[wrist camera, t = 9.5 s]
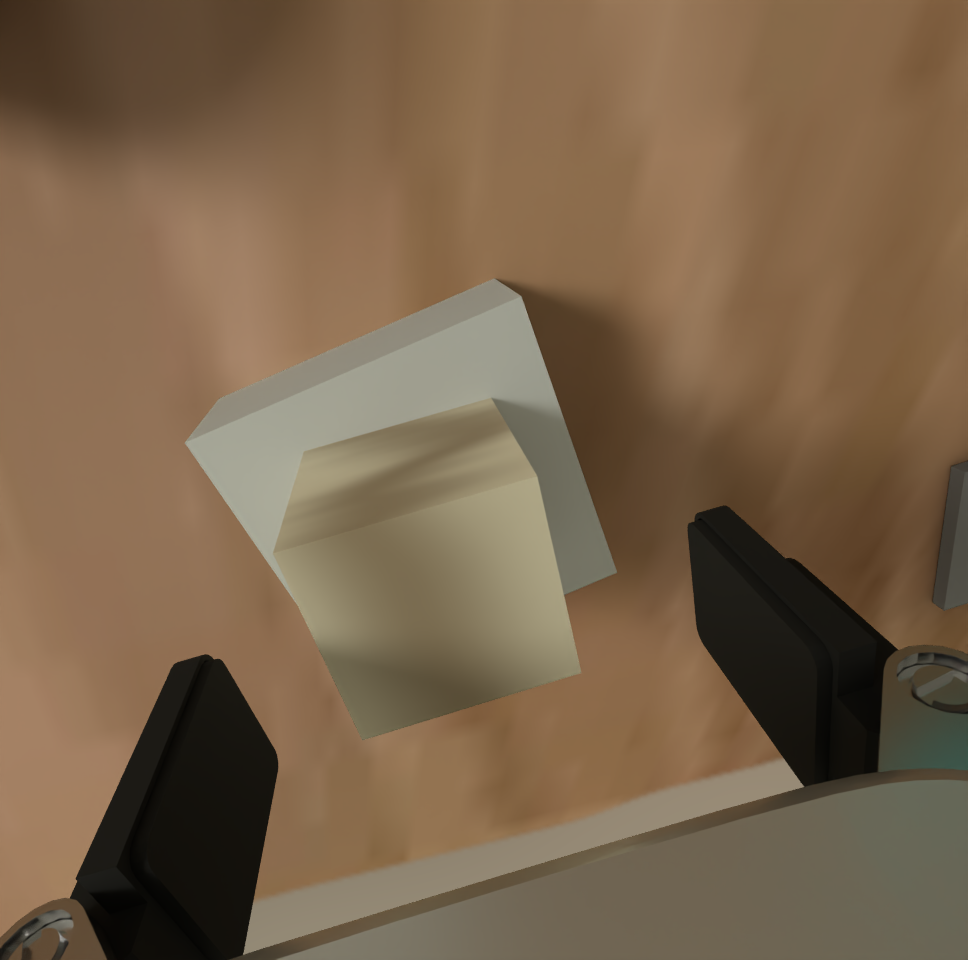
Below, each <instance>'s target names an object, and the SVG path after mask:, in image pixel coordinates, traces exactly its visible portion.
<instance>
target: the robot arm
mask: <svg viewBox="0 0 968 960" xmlns="http://www.w3.org/2000/svg"><path fill="white" fill-rule="evenodd" d="M688 539H689V550H690V561H691V571H692V582H693V593H694V604H695V614H696V625H697V630H698V634H699V636H700V639H701V641H702V643H703V644H704V646H705V647H706V649H707V650H708V652H709V653H710V655H711V656H712V657H713V659H714V660H715V662H716V663H717V664H718V666H719V667H720V669H721V670H722V672H723V673H724V674H725V676H726V677H727V679H728V680H729V681H730V683H731V684H732V686H733V687H734V688H735V690H736V691H737V693H738V694H739V696H740V697H741V698H742V700H743V701H744V703H745V704H746V705H747V707H748V708H749V710H750V711H751V712H752V714H753V715H754V717H755V718H756V720H757V721H758V722H759V724H760V725H761V727H762V728H763V729H764V731H765V732H766V734H767V735H768V737H769V738H770V739H771V741H772V742H773V744H774V745H775V746H776V748H777V749H778V751H779V752H780V753H781V755H782V756H783V758H784V759H785V761H786V762H787V763H788V765H789V766H790V768H791V769H792V770H793V772H794V773H795V775H796V776H797V777H798V779H799V780H800V782H801V783H802V784H803V785H804V787H803V788H799V789H796V790H792V791H788V792H785V793H781V794H778V795H774V796H770V797H767V798H763V799H759V800H756V801H752V802H749V803H745V804H741V805H738V806H734V807H731V808H727V809H723V810H720V811H716V812H713V813H710V814H706V815H703V816H700V817H696V818H693V819H689V820H686V821H683V822H679V823H676V824H672V825H669V826H666V827H663V828H659V829H656V830H652V831H649V832H645V833H642V834H639V835H635V836H632V837H628V838H625V839H622V840H618V841H615V842H612V843H608V844H605V845H601V846H598V847H595V848H591V849H588V850H585V851H581V852H578V853H574V854H571V855H568V856H564V857H561V858H558V859H555V860H551V861H548V862H545V863H541V864H538V865H535V866H531V867H528V868H525V869H521V870H518V871H515V872H512V873H508V874H505V875H501V876H498V877H495V878H492V879H488V880H485V881H482V882H478V883H475V884H472V885H468V886H465V887H462V888H459V889H455V890H452V891H449V892H445V893H442V894H439V895H436V896H432V897H429V898H425V899H422V900H419V901H416V902H412V903H409V904H406V905H403V906H399V907H396V908H393V909H390V910H386V911H383V912H380V913H377V914H373V915H370V916H367V917H364V918H360V919H358V920H354V921H351V922H348V923H344V924H341V925H338V926H334V927H332V928H328V929H325V930H321V931H318V932H315V933H312V934H308V935H305V936H302V937H299V938H295V939H292V940H289V941H286V942H283V943H280V944H276V945H273V946H270V947H266V948H263V949H260V950H257V951H254V952H251V953H248V954H245V955H243V952H244V947H245V941H246V937H247V931H248V926H249V920H250V915H251V910H252V905H253V900H254V894H255V889H256V884H257V878H258V873H259V868H260V863H261V857H262V852H263V847H264V841H265V836H266V831H267V825H268V820H269V815H270V810H271V804H272V799H273V794H274V788H275V783H276V778H277V773H278V758H277V754H276V751H275V749H274V747H273V746H272V744H271V742H270V740H269V739H268V737H267V735H266V734H265V732H264V730H263V729H262V727H261V725H260V723H259V722H258V720H257V718H256V717H255V715H254V713H253V712H252V710H251V708H250V706H249V705H248V703H247V701H246V700H245V698H244V696H243V695H242V693H241V691H240V689H239V688H238V686H237V684H236V683H235V681H234V679H233V678H232V676H231V674H230V672H229V671H228V669H227V667H226V666H225V664H224V663H223V661H222V660H220V659H215V660H214V659H213V658H212V657H211V656H210V655H206V654H205V655H201V656H198V657H194V658H191V659H187V660H184V661H180V662H177V663H176V664H174V665H173V667H172V668H171V670H170V673H169V675H168V677H167V679H166V681H165V684H164V686H163V688H162V690H161V692H160V695H159V697H158V699H157V701H156V703H155V705H154V708H153V710H152V712H151V714H150V716H149V719H148V721H147V723H146V725H145V727H144V730H143V732H142V734H141V736H140V738H139V741H138V743H137V745H136V747H135V749H134V752H133V754H132V756H131V758H130V760H129V763H128V765H127V767H126V769H125V771H124V774H123V776H122V778H121V780H120V782H119V785H118V787H117V789H116V791H115V793H114V796H113V798H112V800H111V802H110V804H109V806H108V809H107V811H106V813H105V815H104V817H103V820H102V822H101V824H100V826H99V828H98V831H97V833H96V835H95V837H94V839H93V842H92V844H91V846H90V848H89V850H88V853H87V855H86V857H85V859H84V861H83V864H82V866H81V868H80V870H79V872H78V875H77V877H76V880H77V883H76V886H75V888H74V890H73V892H72V895H71V897H70V899H69V898H62V899H58V900H53V901H50V902H48V903H46V904H44V905H42V906H40V907H38V908H36V909H34V910H32V911H31V912H30V913H28V914H27V915H25V916H24V917H23V918H21V919H20V920H19V921H17V922H16V923H15V924H14V925H13V926H12V927H11V928H10V929H9V930H8V931H7V932H6V933H5V934H4V935H2V936H1V937H0V960H968V654H966V653H964V652H962V651H958V650H955V649H951V648H947V647H943V646H933V645H917V646H908V647H906V648H903V649H901V650H898V649H897V648H896V647H894V646H893V645H892V644H891V643H890V642H889V641H888V640H887V639H885V638H884V637H883V636H882V635H881V634H880V633H879V632H877V631H876V630H875V629H874V628H873V627H872V626H871V625H870V624H868V623H867V622H866V621H865V620H864V619H863V618H862V617H861V616H859V615H858V614H857V613H856V612H855V611H854V610H853V609H852V608H850V607H849V606H848V605H847V604H846V603H845V602H844V601H842V600H841V599H840V598H839V597H838V596H837V595H836V594H835V593H833V592H832V591H831V590H830V589H829V588H828V587H827V586H826V585H824V584H823V583H822V582H821V581H820V580H819V579H818V578H817V577H815V576H814V575H813V574H812V573H811V572H810V571H809V570H807V569H806V568H805V567H804V566H803V565H802V564H801V563H799V562H798V561H796V560H795V559H792V558H786V559H785V558H784V557H783V556H782V555H781V554H780V553H779V552H778V551H777V550H775V549H774V548H773V547H772V546H771V545H770V544H769V543H768V542H767V541H765V540H764V539H763V538H762V537H761V536H760V535H759V534H758V533H757V532H756V531H754V530H753V529H752V528H751V527H750V526H749V525H748V524H747V523H746V522H745V521H743V520H742V519H741V518H740V517H739V516H738V515H737V514H736V513H735V512H734V511H732V510H731V509H730V508H729V507H727V506H720V507H717V508H713V509H710V510H706V511H703V512H700V513H697V514H696V515H695V522H692V523H689V524H688Z"/></svg>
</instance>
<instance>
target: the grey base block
mask: <svg viewBox="0 0 968 960" xmlns="http://www.w3.org/2000/svg"><path fill="white" fill-rule="evenodd" d="M489 398H492V400H493V402H494V404H495V405H496V407H497V409H498V410H499V412H500V414H501V415H502V417H503V419H504V420H505V422H506V424H507V426H508V427H509V429H510V431H511V432H512V434H513V436H514V437H515V439H516V441H517V443H518V444H519V446H520V448H521V449H522V451H523V453H524V454H525V456H526V458H527V460H528V461H529V463H530V465H531V466H532V468H533V470H534V471H535V473H536V475H537V477H538V482H539V486H540V491H541V495H542V499H543V504H544V508H545V513H546V517H547V522H548V526H549V531H550V535H551V540H552V544H553V549H554V553H555V558H556V562H557V567H558V571H559V575H560V580H561V584H562V589H563V593H564V595H565V594H568V593H570V592H572V591H575V590H577V589H579V588H582V587H584V586H587V585H589V584H591V583H594V582H596V581H598V580H601V579H603V578H605V577H608V576H610V575H612V574H615V573H617V571H616V568H615V565H614V562H613V559H612V556H611V553H610V551H609V548H608V545H607V542H606V539H605V536H604V533H603V530H602V527H601V525H600V522H599V519H598V516H597V513H596V510H595V507H594V504H593V502H592V499H591V496H590V493H589V490H588V487H587V484H586V481H585V478H584V476H583V473H582V470H581V467H580V464H579V461H578V458H577V455H576V452H575V450H574V447H573V444H572V441H571V438H570V435H569V432H568V429H567V427H566V424H565V421H564V418H563V415H562V412H561V409H560V406H559V403H558V401H557V398H556V395H555V392H554V389H553V386H552V383H551V380H550V377H549V375H548V372H547V369H546V366H545V363H544V360H543V357H542V354H541V352H540V349H539V346H538V343H537V340H536V337H535V334H534V331H533V328H532V326H531V323H530V320H529V317H528V314H527V311H526V308H525V305H524V303H523V300H522V297H521V296H520V295H519V294H517V293H516V292H514V291H513V290H511V289H510V288H508V287H507V286H505V285H504V284H502V283H501V282H499V281H498V280H496V279H495V278H494V279H492V280H490V281H487V282H485V283H483V284H480V285H478V286H476V287H474V288H471V289H469V290H467V291H464V292H462V293H460V294H458V295H455V296H453V297H451V298H448V299H446V300H444V301H441V302H439V303H437V304H435V305H432V306H430V307H428V308H425V309H423V310H421V311H419V312H416V313H414V314H412V315H409V316H407V317H405V318H403V319H400V320H398V321H396V322H393V323H391V324H389V325H386V326H384V327H382V328H380V329H377V330H375V331H373V332H370V333H368V334H366V335H364V336H361V337H359V338H357V339H354V340H352V341H350V342H348V343H345V344H343V345H341V346H338V347H336V348H334V349H331V350H329V351H327V352H325V353H322V354H320V355H318V356H315V357H313V358H311V359H309V360H306V361H304V362H302V363H299V364H297V365H295V366H293V367H290V368H288V369H286V370H283V371H281V372H279V373H276V374H274V375H272V376H270V377H267V378H265V379H263V380H260V381H258V382H256V383H254V384H251V385H249V386H247V387H244V388H242V389H240V390H238V391H235V392H233V393H231V394H228V395H226V396H224V397H221V398H219V400H218V401H217V402H216V403H215V405H214V406H213V407H212V408H211V410H210V411H209V412H208V414H207V415H206V416H205V417H204V419H203V420H202V421H201V423H200V424H199V425H198V426H197V428H196V429H195V430H194V431H193V433H192V434H191V435H190V437H189V438H188V439H187V440H186V442H185V444H186V445H187V447H188V448H189V449H190V451H191V452H192V454H193V455H194V457H195V458H196V460H197V461H198V462H199V464H200V465H201V467H202V468H203V470H204V471H205V472H206V474H207V475H208V477H209V478H210V480H211V481H212V483H213V484H214V485H215V487H216V488H217V490H218V491H219V493H220V494H221V496H222V497H223V498H224V500H225V501H226V503H227V504H228V506H229V507H230V509H231V510H232V511H233V513H234V514H235V516H236V517H237V519H238V520H239V522H240V523H241V524H242V526H243V527H244V529H245V530H246V532H247V533H248V534H249V536H250V537H251V539H252V540H253V542H254V543H255V545H256V546H257V547H258V549H259V550H260V552H261V553H262V555H263V556H264V558H265V559H266V560H267V562H268V563H269V565H270V566H271V568H272V569H273V571H274V572H275V573H276V575H277V576H278V578H279V579H280V581H281V582H282V584H283V585H284V586H285V588H286V589H287V591H288V592H289V594H290V595H291V596H292V598H293V599H294V597H293V594H292V592H291V590H290V588H289V586H288V584H287V582H286V580H285V578H284V576H283V574H282V572H281V569H280V567H279V565H278V563H277V561H276V559H275V557H274V555H273V551H274V548H275V545H276V541H277V538H278V535H279V532H280V528H281V525H282V522H283V518H284V515H285V512H286V509H287V505H288V502H289V499H290V495H291V492H292V489H293V485H294V482H295V479H296V476H297V472H298V469H299V466H300V462H301V459H302V456H303V453H304V451H307V450H310V449H314V448H317V447H321V446H324V445H328V444H331V443H335V442H338V441H342V440H345V439H349V438H352V437H356V436H359V435H363V434H366V433H370V432H373V431H377V430H380V429H384V428H387V427H391V426H394V425H398V424H401V423H405V422H408V421H412V420H415V419H419V418H422V417H426V416H429V415H433V414H436V413H440V412H443V411H447V410H450V409H454V408H457V407H461V406H464V405H468V404H471V403H475V402H478V401H482V400H485V399H489ZM294 601H295V599H294ZM295 602H296V601H295ZM296 604H297V603H296Z"/></svg>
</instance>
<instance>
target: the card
mask: <svg viewBox="0 0 968 960" xmlns="http://www.w3.org/2000/svg"><path fill="white" fill-rule="evenodd" d="M933 603H934V604H936V605H937V606H938V607H940V608H941V609H942V610H947V609H951V608H954V607H957V606H960V605H963V604H967V603H968V461H967V462H964V463H960V464H957V465H954V466H951V473H950V480H949V488H948V495H947V502H946V509H945V516H944V524H943V531H942V538H941V545H940V552H939V560H938V567H937V574H936V581H935V589H934V596H933Z"/></svg>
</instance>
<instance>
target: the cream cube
mask: <svg viewBox="0 0 968 960" xmlns="http://www.w3.org/2000/svg"><path fill="white" fill-rule="evenodd" d="M273 555H274V557H275V559H276V561H277V563H278V565H279V567H280V569H281V572H282V574H283V576H284V578H285V580H286V582H287V584H288V586H289V588H290V590H291V592H292V594H293V597H294V599H295V601H296V603H297V605H298V607H299V609H300V611H301V613H302V615H303V617H304V620H305V622H306V624H307V626H308V628H309V630H310V632H311V634H312V636H313V638H314V640H315V642H316V645H317V647H318V649H319V651H320V653H321V655H322V657H323V659H324V661H325V663H326V665H327V667H328V670H329V672H330V674H331V676H332V678H333V680H334V682H335V684H336V686H337V688H338V690H339V692H340V695H341V697H342V699H343V701H344V703H345V705H346V707H347V709H348V711H349V713H350V715H351V718H352V720H353V722H354V724H355V726H356V728H357V730H358V732H359V734H360V736H361V738H362V740H365V739H368V738H371V737H375V736H378V735H381V734H384V733H388V732H391V731H394V730H397V729H401V728H404V727H407V726H410V725H414V724H417V723H420V722H423V721H427V720H430V719H433V718H436V717H440V716H443V715H446V714H449V713H453V712H456V711H459V710H462V709H466V708H469V707H472V706H475V705H479V704H482V703H485V702H488V701H492V700H495V699H498V698H501V697H505V696H508V695H511V694H514V693H518V692H521V691H524V690H527V689H531V688H534V687H537V686H540V685H543V684H547V683H550V682H553V681H556V680H560V679H563V678H566V677H569V676H573V675H576V674H579V673H581V669H580V665H579V660H578V656H577V652H576V647H575V643H574V638H573V634H572V629H571V625H570V620H569V616H568V611H567V607H566V602H565V598H564V593H563V589H562V584H561V580H560V575H559V571H558V567H557V562H556V558H555V553H554V549H553V544H552V540H551V535H550V531H549V526H548V522H547V517H546V513H545V508H544V504H543V499H542V495H541V491H540V486H539V482H538V477H537V475H536V473H535V471H534V470H533V468H532V466H531V465H530V463H529V461H528V460H527V458H526V456H525V454H524V453H523V451H522V449H521V448H520V446H519V444H518V443H517V441H516V439H515V437H514V436H513V434H512V432H511V431H510V429H509V427H508V426H507V424H506V422H505V420H504V419H503V417H502V415H501V414H500V412H499V410H498V409H497V407H496V405H495V404H494V402H493V400H492V398H489V399H485V400H482V401H478V402H475V403H471V404H468V405H464V406H461V407H457V408H454V409H450V410H447V411H443V412H440V413H436V414H433V415H429V416H426V417H422V418H419V419H415V420H412V421H408V422H405V423H401V424H398V425H394V426H391V427H387V428H384V429H380V430H377V431H373V432H370V433H366V434H363V435H359V436H356V437H352V438H349V439H345V440H342V441H338V442H335V443H331V444H328V445H324V446H321V447H317V448H314V449H310V450H307V451H304V453H303V456H302V459H301V462H300V466H299V469H298V472H297V476H296V479H295V482H294V485H293V489H292V492H291V495H290V499H289V502H288V505H287V509H286V512H285V515H284V518H283V522H282V525H281V528H280V532H279V535H278V538H277V541H276V545H275V548H274V551H273Z"/></svg>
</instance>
